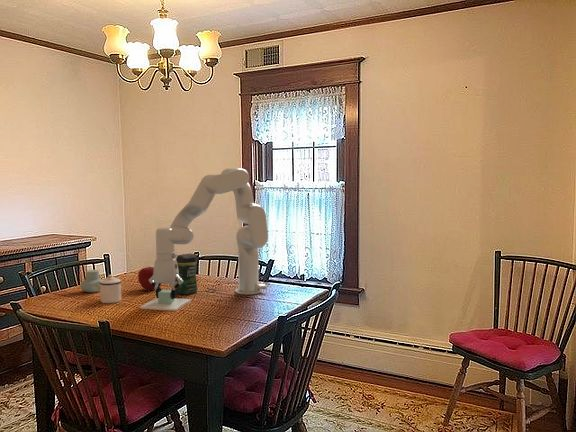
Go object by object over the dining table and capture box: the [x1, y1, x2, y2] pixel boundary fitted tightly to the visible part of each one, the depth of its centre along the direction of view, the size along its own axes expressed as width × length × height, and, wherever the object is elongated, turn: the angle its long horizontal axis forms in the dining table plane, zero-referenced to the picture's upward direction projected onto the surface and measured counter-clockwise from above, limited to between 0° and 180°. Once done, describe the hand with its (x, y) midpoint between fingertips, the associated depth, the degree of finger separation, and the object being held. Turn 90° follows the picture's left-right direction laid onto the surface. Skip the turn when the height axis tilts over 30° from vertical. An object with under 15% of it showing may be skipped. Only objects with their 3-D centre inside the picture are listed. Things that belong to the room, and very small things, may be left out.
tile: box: [139, 297, 192, 312], centre depth 216 cm, size 16×16×1 cm
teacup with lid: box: [99, 274, 122, 304], centre depth 222 cm, size 12×9×12 cm
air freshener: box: [80, 269, 102, 294], centre depth 239 cm, size 11×8×10 cm
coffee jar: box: [175, 253, 198, 295], centre depth 236 cm, size 10×8×19 cm
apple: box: [137, 265, 156, 292], centre depth 243 cm, size 11×11×12 cm
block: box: [158, 289, 174, 304], centre depth 215 cm, size 5×5×5 cm
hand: (166, 297), depth 215 cm, fingers open, 6 cm apart
